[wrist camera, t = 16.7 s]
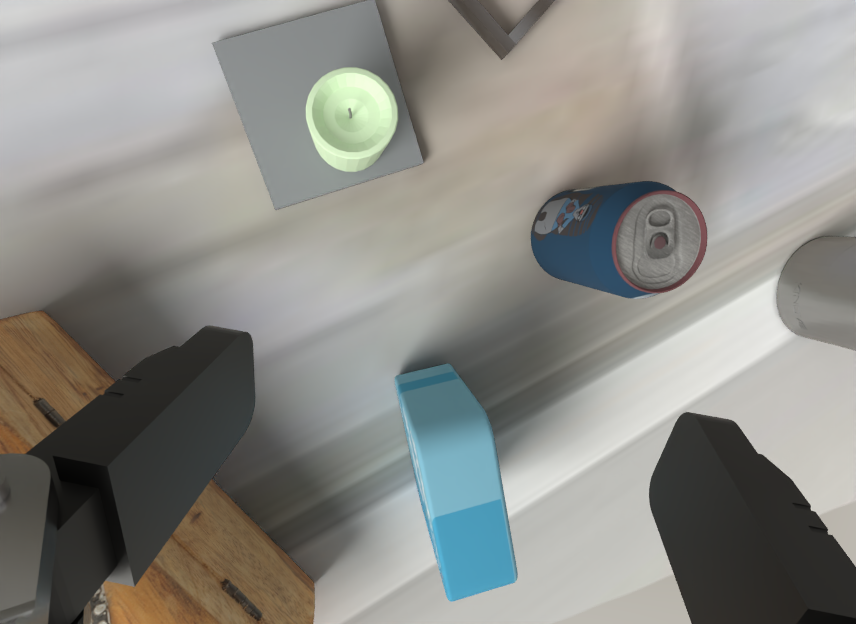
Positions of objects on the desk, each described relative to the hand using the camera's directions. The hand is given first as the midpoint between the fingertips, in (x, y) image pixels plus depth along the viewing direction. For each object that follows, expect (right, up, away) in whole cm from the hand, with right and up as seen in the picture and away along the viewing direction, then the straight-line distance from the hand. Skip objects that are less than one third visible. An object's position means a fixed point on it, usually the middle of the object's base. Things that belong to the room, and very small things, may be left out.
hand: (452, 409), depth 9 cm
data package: (0, -8, +31) cm, 32 cm away
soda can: (+11, +8, +30) cm, 32 cm away
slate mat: (-8, +16, +25) cm, 30 cm away
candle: (-6, +14, +25) cm, 29 cm away
